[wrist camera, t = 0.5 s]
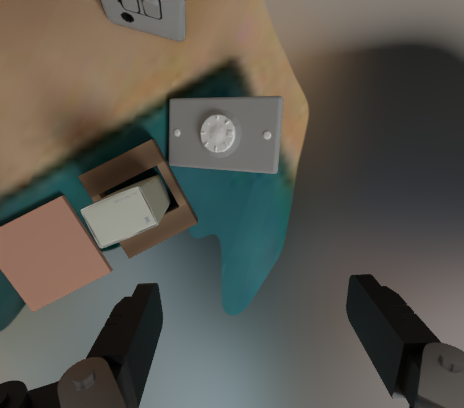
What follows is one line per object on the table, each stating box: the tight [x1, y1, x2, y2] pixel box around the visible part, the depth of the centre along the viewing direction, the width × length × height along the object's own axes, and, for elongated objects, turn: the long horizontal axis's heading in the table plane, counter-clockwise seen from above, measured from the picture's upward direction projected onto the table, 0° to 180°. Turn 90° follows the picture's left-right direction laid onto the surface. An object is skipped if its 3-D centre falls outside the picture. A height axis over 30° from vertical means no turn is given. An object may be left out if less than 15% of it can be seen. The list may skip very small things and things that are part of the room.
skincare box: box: [81, 174, 171, 248], centre depth 33 cm, size 6×4×12 cm
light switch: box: [169, 96, 284, 174], centre depth 36 cm, size 8×6×14 cm
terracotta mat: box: [0, 195, 112, 312], centre depth 38 cm, size 12×12×1 cm
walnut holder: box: [78, 139, 198, 258], centre depth 37 cm, size 12×10×3 cm
